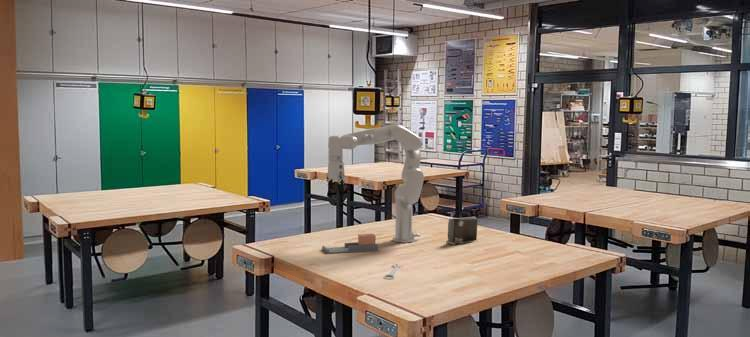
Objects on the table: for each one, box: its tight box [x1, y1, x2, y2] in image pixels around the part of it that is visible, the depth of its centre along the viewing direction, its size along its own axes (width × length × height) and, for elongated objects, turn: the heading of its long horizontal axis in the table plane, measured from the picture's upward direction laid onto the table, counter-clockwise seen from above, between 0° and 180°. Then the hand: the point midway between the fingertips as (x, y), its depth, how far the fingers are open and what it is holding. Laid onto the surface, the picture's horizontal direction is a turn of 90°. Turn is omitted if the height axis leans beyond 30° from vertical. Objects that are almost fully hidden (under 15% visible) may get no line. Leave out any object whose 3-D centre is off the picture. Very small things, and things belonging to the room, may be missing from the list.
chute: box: [321, 241, 380, 255], centre depth 307 cm, size 28×10×3 cm, turn 110°
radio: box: [445, 216, 478, 246], centre depth 331 cm, size 23×9×15 cm, turn 126°
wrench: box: [383, 263, 404, 280], centre depth 266 cm, size 25×2×5 cm
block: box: [357, 233, 377, 245], centre depth 310 cm, size 8×5×6 cm, turn 110°
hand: (335, 190), depth 316 cm, fingers open, 9 cm apart
